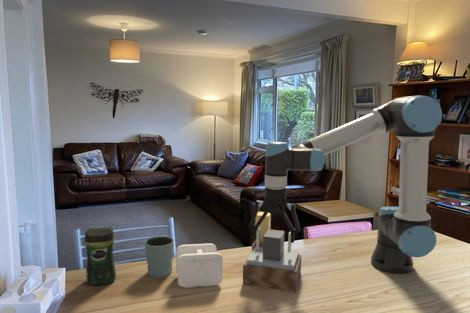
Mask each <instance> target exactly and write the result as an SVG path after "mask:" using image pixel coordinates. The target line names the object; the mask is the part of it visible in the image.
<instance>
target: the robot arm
mask: <svg viewBox="0 0 470 313" xmlns="http://www.w3.org/2000/svg"><path fill="white" fill-rule="evenodd" d="M442 111H443V110H442V108H441V105H440V104H439V102H437V100H435V99H434V98H432V97H431V96H427V95H418V94H417V95H411V96H410V95H409V96H406V95H405V96H400V97H396V98H394V99H392V100H390V101H388V102H386V103H384V104H382V105H380V106H378V107H376V108H373V109H372V110H371V113H369V114H366V115H363V116H361V117H360V118H359V117H358V118H357V119H355V120H353V121H351V122H348V123H345V124H343V125H341V126H339V127H337V128H334V129H331V130H329V131H327V132H324V133H322V134H320V135H318V136H314V137H312V138H310V139H308V140H305V141H304V142H300V143H295V144H293V145H291V146H290V147H289V143H288V142H285V141H270V142H267V143H266V147H265V158H264V159H265V161H264V163H265V165H264V168H265V171H264V186H265V187H264V194H263V195H264V196H263V197H264V198H263V200H259V199H257V200H255V202H254V210H253V211H252V212H253V213H252V214H251V218H250V221H249V223H248V228H249V229H253V238H254V239H255V240H256V249H258V248H259V247H260V228H258V227H259V225H260V224H261V223H262V221H263V220H264V218H265V217H266V215H267V214H268V213H270V214H271V215H278V216H279V215H280V217H281V218H282V220H283V221H284V223H285V225H286V227H287V229H288V230H289V232H288V240H287V242H288V243H287V244H288V245H287V250H288V252H289V253H290V251H292V243H293V244H294V242H295V239H296V234H299V233H300V232H301V226H300V222H299V220H298V215H297V212H296V203H295V202H293V203H289V202H288V201H287V193H288V192H287V186H288V171H302V172H303V171H307V172H315V171H318V172H319V171H322V170H323V168H324V165H325V156H326V155H328V154H330V153H333V152H336V151H338V150H340V149H342V148H345V147H348V146H350V145H352V144H354V143H357V142H359V141H362V140H364V139H366V138H369V137H371V136H373V135H375V134H379V133H381V134H385V133H388V132H391V131H395V130H396V131H395V137H396V138H397V139H398V141H400V154H399V155H400V156H399V157H400V159H399V184H398V185H399V187H398V189H399V192H398V206H382V207H380V208H379V212H378V223H377V224H378V225H377V226H378V227H377V237H376V239H377V241H376V245H375V247H374V250H373V252H372V254H371V257H370V264H371V265H372V266H373V267H375V268H376V269H378V270H381V271H383V272H387V273H393V274H408V273H410V272H412V271H413V269H414V261H413V258H422V257H425V256H427V255H428V254H430V253H431V252H432V251H433V250H434V249H435V247H436V245H437V234H435V232H434V230H433V229H432V228H431V226H432V224H431V222H432V217H431V215H430V214H429V213H428V212H427V199H428V196H427V194H428V193H427V192H428V173H429V150H430V148H429V147H430V142H431V140H432V139H434V138H435V130H436V129H437V127H438V126H439V125H441V121H442V118H443V112H442ZM262 205H263V207H264V208H265V211H263V212H264V213H263V215H262V216H261V218H260V219H259V221H258V222H257V224H256V225H255V223H256V216H257V214H258V212H260V208H261V207H262ZM286 208H288V211H290V214H291V215H290V216H291V218H292V222H293V223H292V222H291V220H290V217H289V216H288V215H287V212H286V210H285V209H286Z"/></svg>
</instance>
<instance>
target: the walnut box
mask: <svg viewBox="0 0 470 313" xmlns="http://www.w3.org/2000/svg"><path fill="white" fill-rule="evenodd" d="M255 247H256V239H255V240H254V241H253V243H252V244H251V252H252V251H253V249H254V248H255ZM260 247H263V244H260ZM251 252H250V254H251ZM250 254H249V255H247V256H248V257H249V256H250ZM248 257H247V258H246V259H245V261H244V263H243V265H242V285H243V286H252V287H256V288H262V289H264V288H265V289H269V290H270V289H271V290H277V291H286V292H291V293H296V292H297V289H298V286H299V281H300V278H301V277H300V276H301V273H302V272H301V271H302V254H298V259H297V262H296V265H295V268H294V270H287V269H280V268H272V267H265V266H257V265H250V264H247V259H248Z"/></svg>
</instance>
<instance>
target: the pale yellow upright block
mask: <svg viewBox="0 0 470 313" xmlns="http://www.w3.org/2000/svg"><path fill="white" fill-rule="evenodd" d="M264 212H265V211H258V214H257V216H256V219H255V222H254V224H255V225H256V224H257V222H258V221H259V219H260V218H261V216H262V215H263V213H264ZM271 217H272V214H270V213H268V214H267V215H266V217H265V218H264V220H263V221H262V223H261V224H260V225H259V227H258V228H260V244H263V236H264V235H265V233H266V231H267V230H268V229H270V230H271V226H272V225H271V222H272V218H271Z"/></svg>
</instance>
